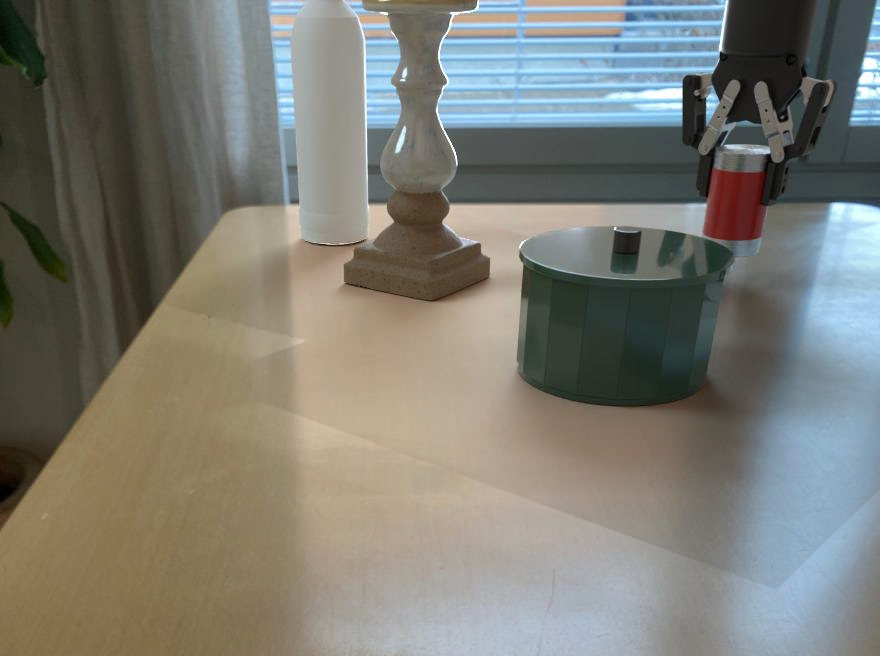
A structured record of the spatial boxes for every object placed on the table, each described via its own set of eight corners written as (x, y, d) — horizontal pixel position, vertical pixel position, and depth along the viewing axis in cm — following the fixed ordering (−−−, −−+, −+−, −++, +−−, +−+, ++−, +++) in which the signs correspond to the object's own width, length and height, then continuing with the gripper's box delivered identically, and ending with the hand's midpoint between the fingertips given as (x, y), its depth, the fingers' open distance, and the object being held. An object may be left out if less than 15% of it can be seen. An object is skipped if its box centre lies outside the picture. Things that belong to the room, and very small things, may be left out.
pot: (581, 329, 86) (592, 226, 81) (737, 367, 78) (760, 256, 73) (481, 374, 77) (486, 261, 72) (646, 422, 69) (665, 299, 64)
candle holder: (404, 259, 105) (405, -8, 91) (492, 275, 99) (507, -5, 86) (341, 283, 97) (331, -4, 84) (432, 301, 92) (438, -1, 78)
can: (748, 242, 99) (765, 143, 93) (768, 256, 94) (788, 153, 89) (692, 243, 98) (706, 145, 93) (710, 258, 94) (726, 155, 89)
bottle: (382, 240, 112) (379, -87, 94) (323, 249, 108) (308, -88, 91) (345, 226, 117) (336, -85, 100) (288, 235, 113) (267, -86, 96)
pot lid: (589, 232, 82) (593, 197, 80) (767, 264, 73) (776, 226, 72) (476, 270, 72) (478, 231, 70) (667, 312, 64) (673, 269, 62)
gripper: (874, -12, 82) (827, 203, 92) (716, -13, 90) (688, 185, 100) (838, -8, 78) (793, 218, 87) (676, -9, 86) (650, 198, 95)
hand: (737, 199), depth 94 cm, fingers closed on can, 5 cm apart
